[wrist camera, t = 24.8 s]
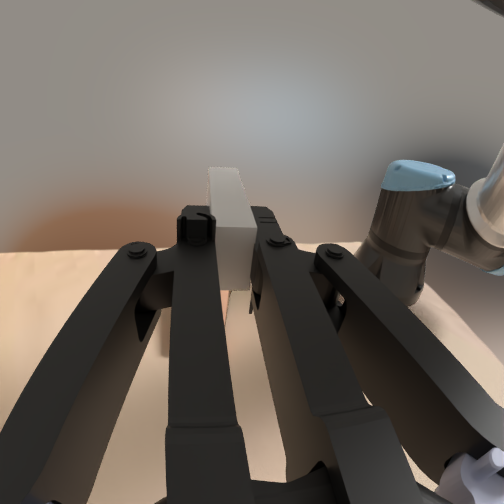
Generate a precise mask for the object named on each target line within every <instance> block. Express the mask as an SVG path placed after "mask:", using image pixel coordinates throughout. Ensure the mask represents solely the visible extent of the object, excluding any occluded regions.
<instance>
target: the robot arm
mask: <svg viewBox="0 0 504 504" xmlns="http://www.w3.org/2000/svg"><path fill="white" fill-rule="evenodd" d="M472 1H474V2H475V3H477V4H478V5H480V6H482V7H484V8H486V9H488V10H490V11H492V12H494V13H496V14H497V15H500V16H502V17H504V0H472ZM208 169H209V170H208V185H207V205H206V206H189V205H187V206H186V207H185V208H184V209H183V210H182V213H181V215H180V216H179V217H178V218H177V244H176V245H174V246H173V247H171V248H169V249H166V250H162V251H156V249H155V247H154V246H153V245H151V244H150V243H145V242H132V243H129V244H127V245H124V246H123V247H121V248H120V249H119V250H118V252H117V253H116V254H115V255H114V257H113V258H112V259H111V261H110V262H109V263H108V265H107V266H106V267H105V268H104V270H103V271H102V272H101V274H100V275H99V276H98V278H97V279H96V280H95V282H94V283H93V284H92V286H91V287H90V289H89V290H88V291H87V293H86V294H85V295H84V297H83V298H82V300H81V301H80V302H79V304H78V305H77V307H76V308H75V310H74V311H73V312H72V314H71V315H70V317H69V318H68V320H67V321H66V323H65V324H64V326H63V327H62V329H61V330H60V332H59V333H58V335H57V336H56V338H55V339H54V341H53V342H52V344H51V345H50V347H49V348H48V350H47V352H46V353H45V355H44V356H43V358H42V360H41V361H40V363H39V364H38V366H37V368H36V369H35V371H34V373H33V374H32V376H31V378H30V379H29V381H28V383H27V385H26V386H25V388H24V390H23V391H22V393H21V395H20V397H19V399H18V400H17V402H16V404H15V406H14V408H13V409H12V411H11V413H10V415H9V417H8V419H7V421H6V423H5V425H4V427H3V429H2V430H1V432H0V504H86V503H87V501H88V498H89V496H90V493H91V491H92V488H93V485H94V482H95V479H96V476H97V473H98V470H99V468H100V465H101V462H102V459H103V456H104V453H105V451H106V448H107V445H108V442H109V440H110V437H111V434H112V432H113V429H114V426H115V424H116V421H117V418H118V416H119V413H120V411H121V408H122V406H123V403H124V401H125V398H126V395H127V393H128V390H129V388H130V385H131V383H132V381H133V378H134V376H135V373H136V371H137V368H138V366H139V364H140V361H141V359H142V356H143V354H144V352H145V349H146V347H147V345H148V342H149V340H150V338H151V335H152V333H153V331H154V328H155V326H156V324H157V322H158V319H159V317H160V315H161V309H163V308H167V307H172V310H171V328H170V350H169V387H168V426H167V428H166V434H165V457H166V487H167V496H166V497H164V498H162V499H161V500H159V501H158V502H156V503H155V504H504V409H503V408H502V407H501V406H499V405H498V404H496V403H495V402H494V401H493V400H492V398H491V397H490V396H489V395H488V394H487V393H486V391H485V390H484V389H483V388H482V387H481V386H480V384H479V383H478V382H477V381H476V380H475V379H474V378H473V377H472V375H471V374H470V373H469V372H468V371H467V370H466V369H465V368H464V367H463V365H462V364H461V363H460V362H459V361H458V360H457V359H456V358H455V357H454V356H453V355H452V353H451V352H450V351H449V350H448V349H447V348H446V347H445V346H444V345H443V344H442V343H441V342H440V341H439V340H438V339H437V337H436V336H435V335H434V334H433V333H432V332H431V331H430V330H429V329H428V328H427V327H426V326H425V325H424V324H423V323H422V322H421V321H420V320H419V319H418V318H417V317H416V316H415V315H414V314H413V313H412V312H411V311H410V310H409V309H408V308H407V307H406V306H410V305H412V304H414V303H415V302H417V300H418V299H419V297H420V295H421V292H422V290H423V287H424V277H425V268H426V267H425V266H426V259H427V256H428V253H429V251H430V248H431V247H432V248H435V249H438V250H440V251H442V252H445V253H447V254H449V255H452V256H454V257H456V258H459V259H461V260H463V261H465V262H467V263H469V264H472V265H474V266H476V267H478V268H479V269H481V270H482V271H484V272H488V273H492V274H494V275H499V276H501V275H504V144H503V146H502V148H501V150H500V152H499V154H498V156H497V158H496V160H495V162H494V164H493V166H492V168H491V170H490V172H489V174H488V176H487V178H482V179H479V180H478V181H476V182H475V183H474V184H473V185H472V186H471V188H470V189H469V188H467V187H464V186H461V185H459V184H457V183H455V175H454V173H452V172H451V171H449V170H447V169H444V168H441V167H439V166H436V165H432V164H428V163H424V162H418V161H412V160H397V161H394V162H392V163H391V164H390V165H389V167H388V169H387V172H386V175H385V178H384V181H383V182H382V184H381V187H382V189H381V193H380V196H379V200H378V204H377V207H376V211H375V214H374V218H373V221H372V224H371V228H370V231H369V234H368V236H367V238H366V239H365V241H364V242H363V243H362V244H361V246H360V247H359V248H358V250H357V251H356V252H355V254H354V255H352V254H351V253H350V252H349V251H348V250H346V249H345V248H344V247H341V246H339V245H337V244H332V243H330V244H321V245H319V246H318V247H317V250H316V253H311V252H306V251H302V250H299V249H298V248H297V246H296V244H295V242H294V241H293V240H292V239H291V238H289V237H288V236H286V235H283V233H282V231H281V229H280V227H279V225H278V223H277V220H276V219H275V216H274V214H273V212H272V211H271V210H270V209H268V208H267V207H259V206H250V204H249V201H248V198H247V195H246V192H245V189H244V187H243V183H242V180H241V178H240V175H239V172H238V169H237V168H224V167H209V168H208ZM250 281H251V283H252V294H251V302H250V309H249V314H252V310H254V315H255V319H256V324H257V328H258V333H259V338H260V342H261V347H262V351H263V356H264V361H265V365H266V370H267V374H268V379H269V383H270V388H271V392H272V397H273V401H274V406H275V410H276V415H277V419H278V424H279V428H280V432H281V437H282V441H283V446H284V450H285V455H286V481H287V483H278V482H268V481H258V480H251V478H250V472H249V466H248V460H247V454H246V448H245V442H244V437H243V432H242V429H241V426H239V425H238V422H237V417H236V411H235V404H234V397H233V390H232V382H231V375H230V367H229V359H228V352H227V344H226V336H225V327H224V319H223V310H222V302H221V293H220V290H249V289H250ZM340 294H341V295H342V296H343V297H344V299H345V301H344V303H343V305H342V304H341V303H340V302H339V301H338V299H339V296H340ZM362 391H363V392H362ZM363 393H364V394H365V395H366V397H367V398H368V399H369V401H370V402H371V404H372V405H373V406H371V405H370V404H368V402H367V401H366V399H365V397H364V394H363ZM401 445H402V446H403V448H404V449H405V451H406V452H407V453H408V455H409V456H410V457H411V459H412V460H413V461H414V462H415V464H416V465H417V466H418V467H419V469H420V470H421V471H422V472H423V473H425V474H426V475H427V476H428V477H429V478H430V479H431V480H432V481H434V482H435V483H436V484H438V485H439V486H438V487H437V488H436V489H435V492H433V491H431V490H429V489H428V488H426V487H424V486H423V485H421V484H420V483H418V482H416V481H415V478H414V476H413V473H412V471H411V468H410V466H409V463H408V461H407V458H406V456H405V453H404V451H403V449H402V446H401Z"/></svg>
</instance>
